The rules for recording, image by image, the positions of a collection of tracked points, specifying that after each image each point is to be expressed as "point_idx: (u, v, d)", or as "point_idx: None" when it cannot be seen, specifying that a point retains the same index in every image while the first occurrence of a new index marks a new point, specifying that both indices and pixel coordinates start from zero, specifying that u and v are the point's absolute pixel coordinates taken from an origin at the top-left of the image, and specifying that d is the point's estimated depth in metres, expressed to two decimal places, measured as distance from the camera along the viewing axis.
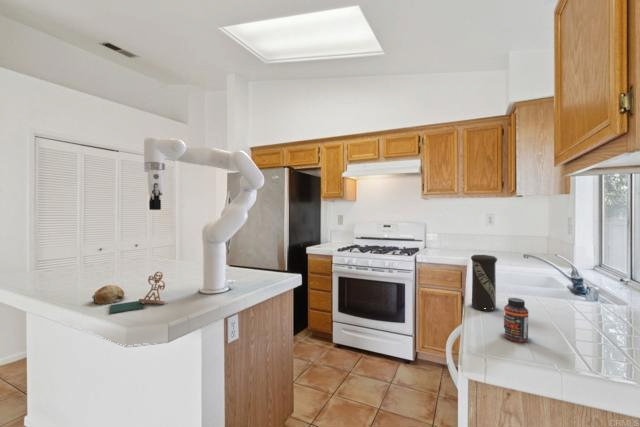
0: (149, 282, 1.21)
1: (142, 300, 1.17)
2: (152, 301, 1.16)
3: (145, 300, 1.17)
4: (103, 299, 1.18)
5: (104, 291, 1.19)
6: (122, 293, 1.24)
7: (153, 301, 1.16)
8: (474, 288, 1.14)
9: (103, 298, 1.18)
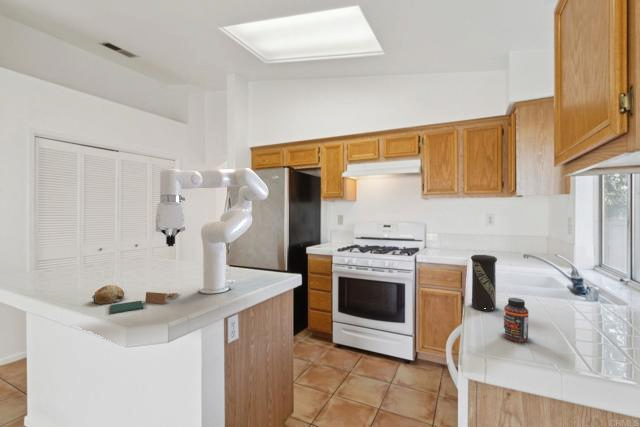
0: None
1: (151, 292, 1.21)
2: (160, 293, 1.20)
3: (154, 292, 1.21)
4: (103, 299, 1.18)
5: (104, 291, 1.19)
6: (122, 293, 1.24)
7: (161, 293, 1.20)
8: (474, 288, 1.14)
9: (103, 298, 1.18)
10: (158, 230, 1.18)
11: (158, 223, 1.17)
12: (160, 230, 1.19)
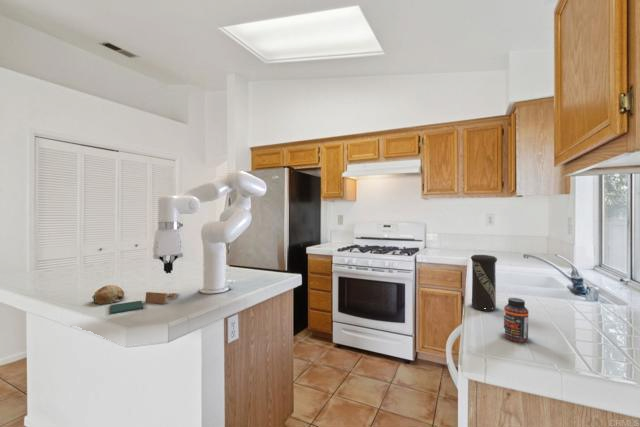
0: None
1: (151, 292, 1.21)
2: (160, 293, 1.20)
3: (154, 292, 1.21)
4: (103, 299, 1.18)
5: (104, 291, 1.19)
6: (122, 293, 1.24)
7: (161, 293, 1.20)
8: (474, 288, 1.14)
9: (103, 298, 1.18)
10: (156, 257, 1.18)
11: (156, 250, 1.17)
12: (158, 257, 1.18)
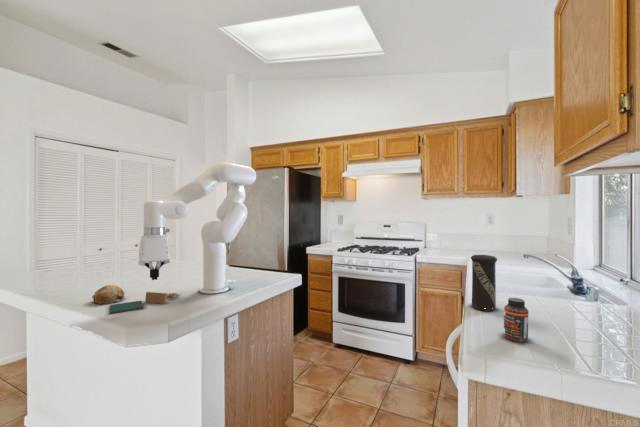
0: None
1: (151, 292, 1.21)
2: (160, 293, 1.20)
3: (154, 292, 1.21)
4: (103, 299, 1.18)
5: (104, 291, 1.19)
6: (122, 293, 1.24)
7: (161, 293, 1.20)
8: (474, 288, 1.14)
9: (103, 298, 1.18)
10: (141, 264, 1.15)
11: (141, 257, 1.14)
12: (143, 263, 1.16)
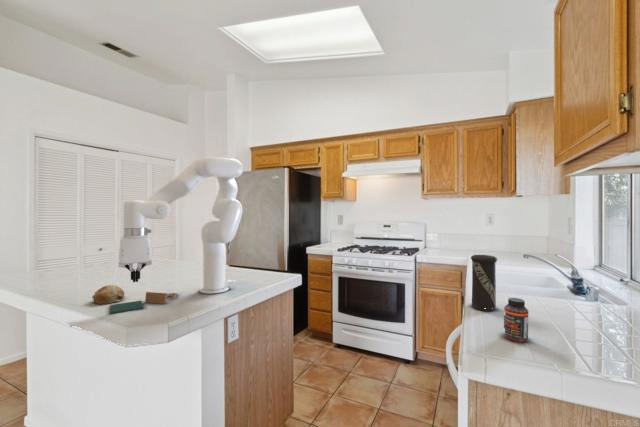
0: None
1: (151, 292, 1.21)
2: (160, 293, 1.20)
3: (154, 292, 1.21)
4: (103, 299, 1.18)
5: (104, 291, 1.19)
6: (122, 293, 1.24)
7: (161, 293, 1.20)
8: (474, 288, 1.14)
9: (103, 298, 1.18)
10: (121, 265, 1.12)
11: (121, 258, 1.10)
12: (123, 265, 1.12)
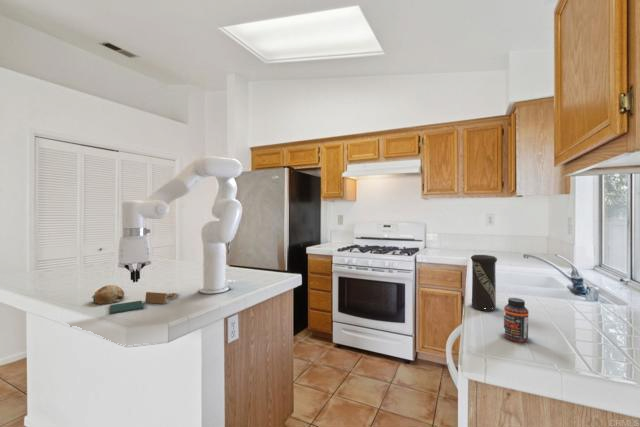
0: None
1: (151, 292, 1.21)
2: (160, 293, 1.20)
3: (154, 292, 1.21)
4: (103, 299, 1.18)
5: (104, 291, 1.19)
6: (122, 293, 1.24)
7: (161, 293, 1.20)
8: (474, 288, 1.14)
9: (103, 298, 1.18)
10: (121, 266, 1.12)
11: (120, 259, 1.10)
12: (123, 266, 1.12)
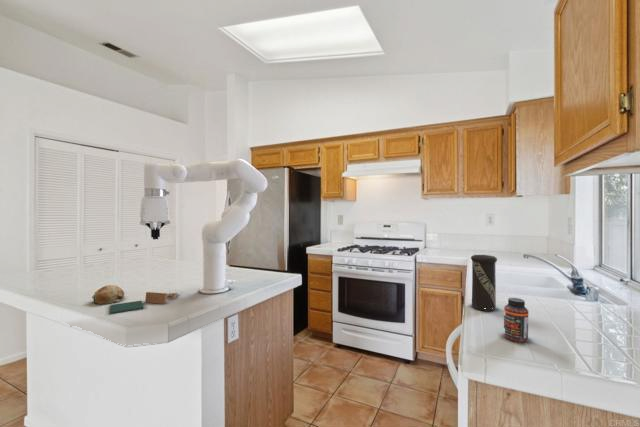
0: None
1: (151, 292, 1.21)
2: (160, 293, 1.20)
3: (154, 292, 1.21)
4: (103, 299, 1.18)
5: (104, 291, 1.19)
6: (122, 293, 1.24)
7: (161, 293, 1.20)
8: (474, 288, 1.14)
9: (103, 298, 1.18)
10: (143, 223, 1.20)
11: (142, 216, 1.19)
12: (145, 223, 1.21)
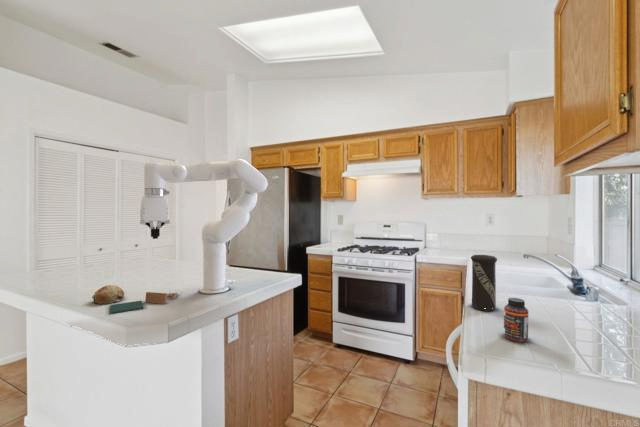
0: None
1: (151, 292, 1.21)
2: (160, 293, 1.20)
3: (154, 292, 1.21)
4: (103, 299, 1.18)
5: (104, 291, 1.19)
6: (122, 293, 1.24)
7: (161, 293, 1.20)
8: (474, 288, 1.14)
9: (103, 298, 1.18)
10: (142, 223, 1.20)
11: (142, 216, 1.19)
12: (144, 223, 1.21)
